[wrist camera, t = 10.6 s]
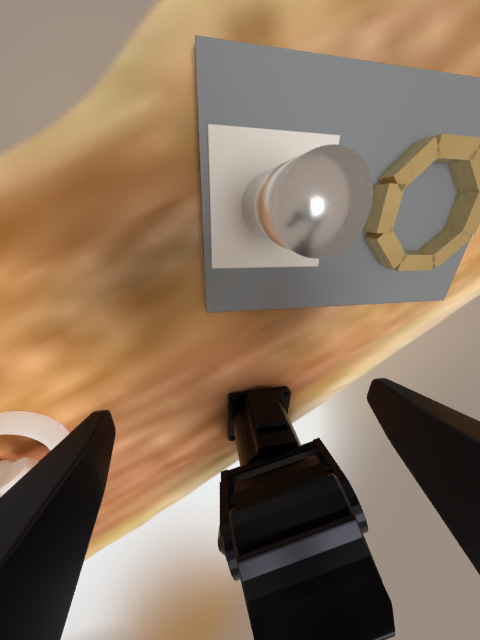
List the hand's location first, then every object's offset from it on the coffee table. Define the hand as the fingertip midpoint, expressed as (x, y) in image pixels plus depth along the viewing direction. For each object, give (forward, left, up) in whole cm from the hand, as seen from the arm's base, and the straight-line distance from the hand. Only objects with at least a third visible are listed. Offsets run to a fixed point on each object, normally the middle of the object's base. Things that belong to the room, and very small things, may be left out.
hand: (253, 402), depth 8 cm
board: (+6, -10, -12) cm, 17 cm away
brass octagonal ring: (+6, -15, -11) cm, 20 cm away
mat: (+6, -3, -11) cm, 13 cm away
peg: (+6, -3, -11) cm, 13 cm away
